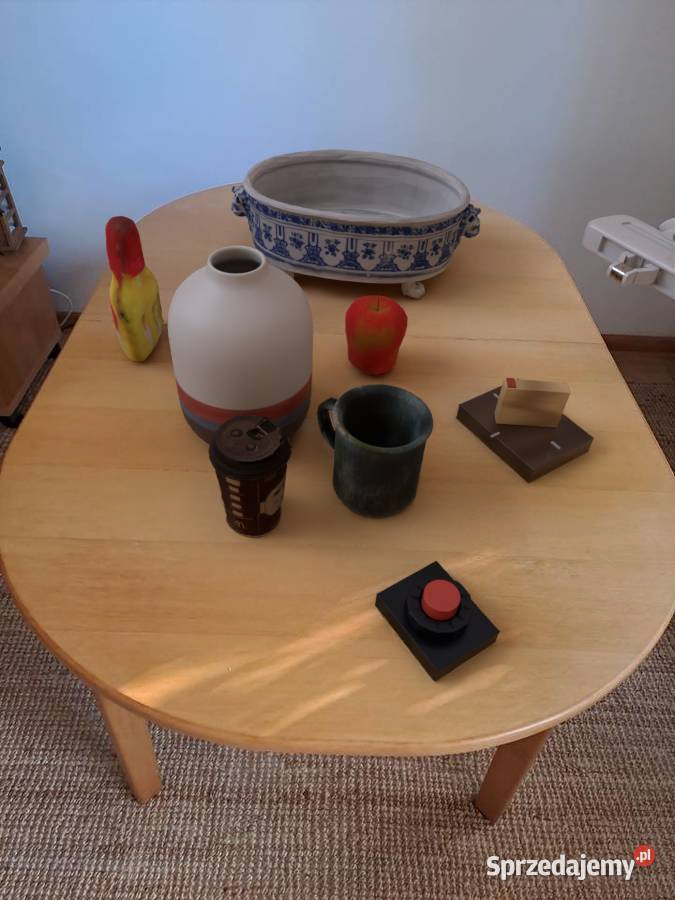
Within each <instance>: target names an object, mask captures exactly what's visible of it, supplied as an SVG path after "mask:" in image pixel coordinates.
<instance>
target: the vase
mask: <svg viewBox="0 0 675 900" xmlns="http://www.w3.org/2000/svg"><path fill="white" fill-rule="evenodd" d="M280 269H281V268H278V267H276V266H274V265H271V264H270V263H268V262H267V261H266V258H265V256H264V254H263V253H262V252H260V251H259V250H257V249H255V248H254V247H252V246H248V245H240V244H239V245H237V244H236V245H228V246H224V247H220V248H217V249H216V250H214V251H212V252H211V253H210V254H209V255H208V257H207V260H206V265H204V266H202V267H200V268H199V269H197V270H195V271H194V272H193V273H191V274H190V275H188V276H187V277H186V278H185V279H184V280H183V281H182V282H181V284H179V286H178V288H177V289H176V291H175V292H174V294H173V296H172V299H171V302H170V305H169V309H168V312H167V313H168V315H167V334H168V335H167V336H168V343H169V348H170V356H171V360H172V366H173V374H174V377H175V384H176V390H177V395H178V400H179V406H180V408H181V411H182V412H181V413H182V415H183V417H184V419H185V421H186V422H187V425H188V426H189V427H190V429H191V430H192V432H194V434H195V435H196V436H197V437H199V439H201V440H202V441H203V442H205V443H207V444H208V445H210V442H211V439H212V438H213V436H214V435H215V433H216V430H217V429H218V428H219V426H220V425H221V424H222V423H224V422H225V421H226V420H228V419H229V418H231V417H233V416H235V415H244V414H246V415H253V416H267V417H269V419H273V420H275V421H276V422H277V427H279V428H280V431H281V434H283V435H284V436H287V437H288V440H289V439H291V438H292V437H293V436H294V435H295V434H296V433H297V432H298V431H299V430H300V428H301V427H302V426H303V423H304V422H305V420H306V418H307V416H308V413H309V410H310V408H311V407H310V406H311V400H312V391H313V389H312V388H313V362H314V360H313V359H314V357H313V356H314V322H313V321H314V320H313V314H312V309H311V306H310V302H309V301H308V298H307V295H306V294H305V291H304V290H303V289H302V288H301V286H300V284H299V283H298V282H297V281H296V280H295V278H294V279H293V278H291V277H290V276H289V275H288V274H286V273H285V272H283V271H282V270H280Z"/></svg>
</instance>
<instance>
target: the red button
mask: <svg viewBox="0 0 675 900" xmlns="http://www.w3.org/2000/svg"><path fill="white" fill-rule="evenodd" d="M459 603H460V593H459V591H458V589H457V588H456V587H455V586H454V585H453V584H452V583H450V582H448V581H445V580H434V581H432V582H430V583H428V584H427V585H426V587H425V589H424V592H423V596H422V601H421V605H422V608H423V610H424V612H425V613H426V614H427V615H428V616H429V617H431V618H432V619H435V620H439V621H444V620H448V619H450V618H452V617H453V616H454V615H455V614H456V612H457V609H458V606H459Z"/></svg>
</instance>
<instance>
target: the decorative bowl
mask: <svg viewBox="0 0 675 900" xmlns="http://www.w3.org/2000/svg"><path fill="white" fill-rule="evenodd" d="M230 192H232V193H233V194H234V195H233V196H232V197H231V206H230V210H231V212H232V213H233V214H234V216H236V217H238V218H239V217H241V218H244V217H245V218H247V223H248V229H249V231H250V233H251V235H252V246H253V248H255V249H257V250H259V251H260V252H262V253H263V254H264V256H265V258H266V261H267V263H268V264H270V265H273V266H275V267H277V268H279V269H280V270H282V271H283V272H285V273H286V274H288V275H289V276H290V277H291V278H293V279H294V280H295V278H294V276H295V273H296V274H301V275H305V276H312V277H317V278H323V279H327V280H337V281H343V282H355V283H365V284H400V292H401V293H402V294H403V295H404V296H409V297H410V298H413V299H420V298H422V296H424V295H425V292H426V289H425V285H424V284H423V283H422V282H421V281H425V280H428V279H431V278H434V277H435V276H437V275H439V274H441V273H442V272H444V271H445V270H446V269H447V268H448V267H449V265H450V263H451V259H452V256H453V254H454V252H455V250H456V249H457V248H458V246H459V245H460V244H461V242H462V241H461V240H462V239H461V238H462V237H465V238H467V239H472V238H475V237H477V236H478V235H479V234H480V233H481V219H480V218H479V215H480V214H481V213H482V209H481V207H475V206H474V204H472V203H470V201H471V194H470V191H469V189H468V187H467V186H466V184H465V183H464V182H463V181H462V180H461V179H460V178H459V177H458V176H457V175H455V174H453V173H452V172H450V171H448V170H447V169H445V168H442V167H440V166H437V165H435V164H432V163H430V162H427V161H423V160H420V159H418V158H417V159H416V158H413V157H409V156H403V155H396V154H391V153H385V152H378V151H377V152H376V151H365V150H351V149H319V150H318V149H317V150H305V151H295V152H290V153H284V154H283V153H282V154H278V155H274V156H271V157H268V158H266V159H264V160H261V161H259V162H257V163H256V164H254V165H253V166H252V167H251V168H249V170H248V171H247V172H246V174H245V176H244V178H243V182H242V184H241V185H237V186H232V187H231V191H230Z"/></svg>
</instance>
